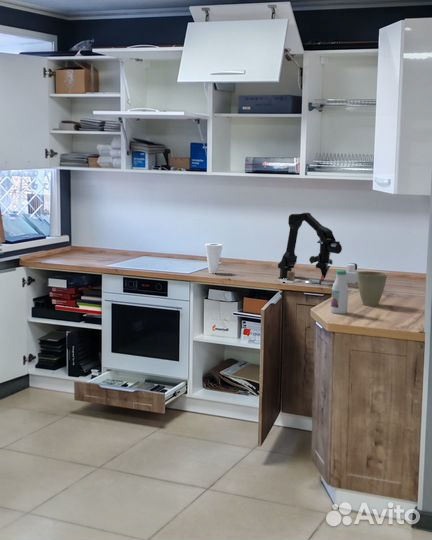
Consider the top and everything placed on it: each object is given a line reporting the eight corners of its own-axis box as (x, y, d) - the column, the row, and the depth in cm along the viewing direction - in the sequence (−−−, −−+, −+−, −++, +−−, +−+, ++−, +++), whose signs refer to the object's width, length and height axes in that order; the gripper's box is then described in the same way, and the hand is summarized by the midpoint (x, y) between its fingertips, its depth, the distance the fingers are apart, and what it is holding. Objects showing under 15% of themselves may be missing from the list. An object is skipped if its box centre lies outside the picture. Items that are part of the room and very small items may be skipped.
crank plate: (296, 284, 448) (296, 277, 447) (310, 281, 458) (310, 275, 458) (319, 287, 438) (319, 280, 437) (333, 285, 448) (333, 278, 447)
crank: (300, 282, 449) (300, 273, 448) (309, 280, 455) (310, 272, 454) (318, 285, 440) (319, 276, 439) (327, 283, 446) (328, 274, 446)
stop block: (286, 282, 451) (287, 272, 450) (287, 281, 455) (288, 271, 454) (293, 282, 450) (294, 272, 449) (294, 281, 454) (294, 271, 453)
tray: (279, 282, 452) (279, 279, 452) (289, 281, 459) (289, 278, 459) (292, 284, 446) (292, 281, 446) (301, 283, 453) (301, 280, 453)
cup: (201, 272, 482) (202, 243, 479) (217, 271, 486) (218, 243, 484) (208, 275, 472) (209, 245, 470) (224, 274, 477) (225, 245, 474)
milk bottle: (345, 311, 372) (347, 269, 369) (348, 314, 364) (351, 272, 361) (329, 310, 372) (331, 269, 369) (332, 313, 364) (334, 271, 361)
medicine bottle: (347, 282, 462) (348, 262, 460) (358, 283, 458) (360, 263, 456) (343, 283, 455) (344, 263, 454) (354, 285, 452) (355, 264, 450)
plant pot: (364, 300, 401) (365, 270, 399) (390, 305, 392) (392, 273, 390) (349, 304, 390) (351, 273, 387) (376, 308, 380) (378, 276, 378)
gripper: (314, 248, 454) (313, 274, 456) (307, 252, 436) (306, 280, 439) (333, 249, 450) (332, 276, 453) (326, 254, 433) (325, 281, 435)
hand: (323, 278), depth 445 cm, fingers closed
